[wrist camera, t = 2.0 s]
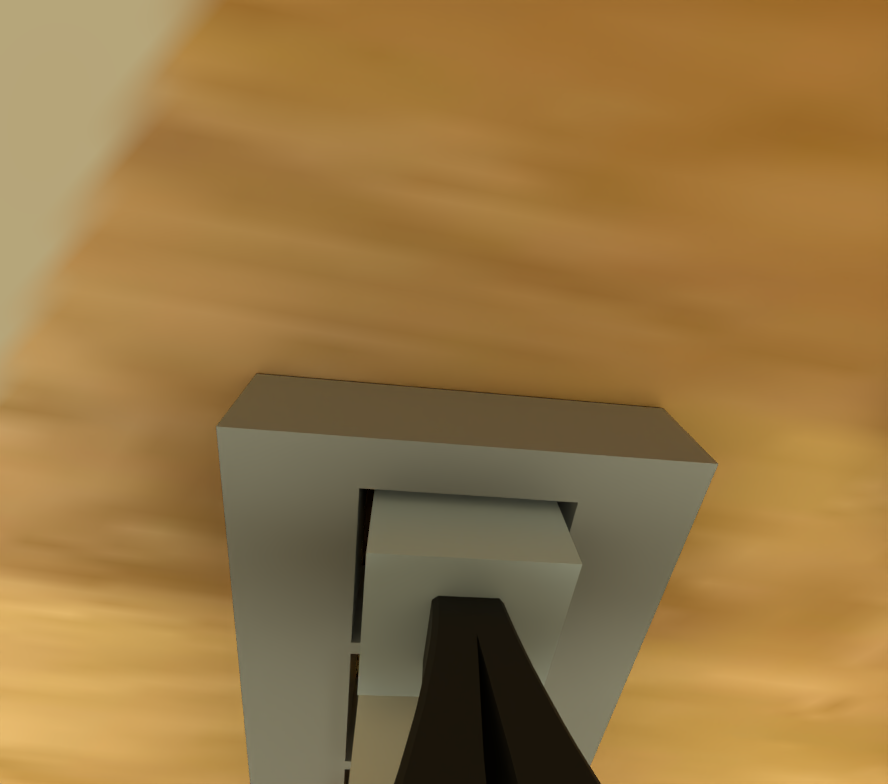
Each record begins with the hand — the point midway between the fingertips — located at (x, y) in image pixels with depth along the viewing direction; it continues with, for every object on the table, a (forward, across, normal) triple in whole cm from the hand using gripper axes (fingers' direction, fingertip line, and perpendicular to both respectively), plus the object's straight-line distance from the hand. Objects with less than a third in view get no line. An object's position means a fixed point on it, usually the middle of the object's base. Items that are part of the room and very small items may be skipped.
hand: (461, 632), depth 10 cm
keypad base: (+4, 0, +5) cm, 6 cm away
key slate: (+3, 0, 0) cm, 3 cm away
